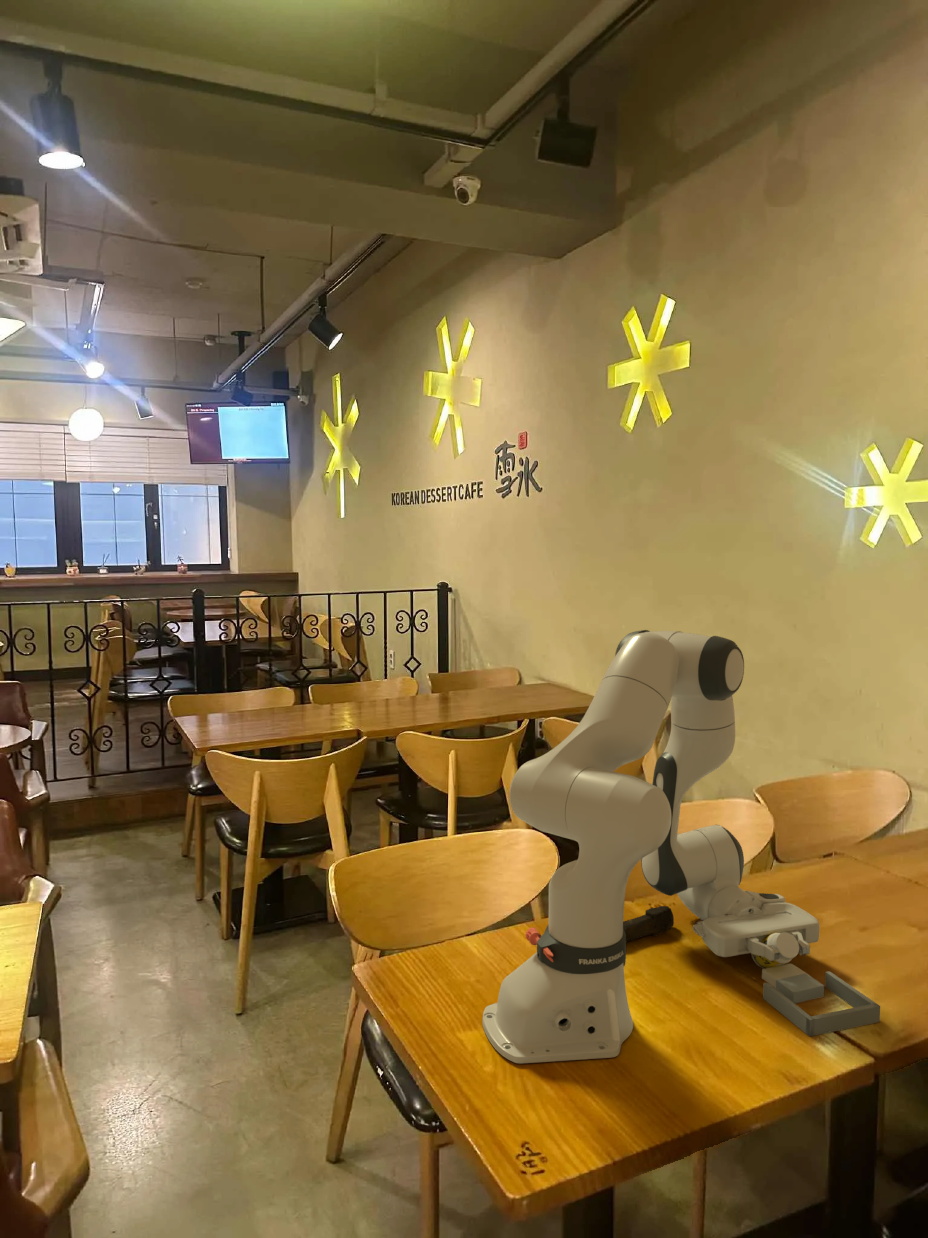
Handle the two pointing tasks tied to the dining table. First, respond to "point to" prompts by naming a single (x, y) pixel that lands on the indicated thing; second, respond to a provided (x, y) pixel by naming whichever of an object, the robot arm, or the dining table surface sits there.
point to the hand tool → (649, 923)
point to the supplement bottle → (785, 946)
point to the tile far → (780, 973)
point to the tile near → (800, 988)
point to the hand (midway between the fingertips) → (791, 953)
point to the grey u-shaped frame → (827, 1022)
